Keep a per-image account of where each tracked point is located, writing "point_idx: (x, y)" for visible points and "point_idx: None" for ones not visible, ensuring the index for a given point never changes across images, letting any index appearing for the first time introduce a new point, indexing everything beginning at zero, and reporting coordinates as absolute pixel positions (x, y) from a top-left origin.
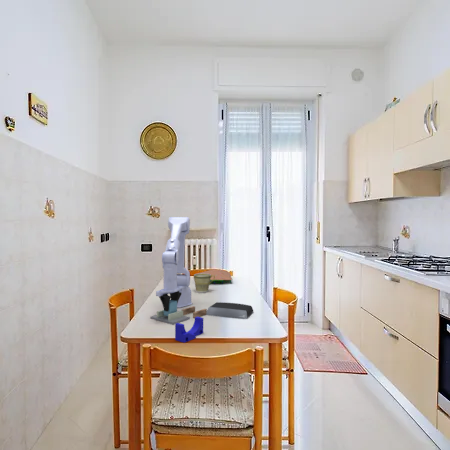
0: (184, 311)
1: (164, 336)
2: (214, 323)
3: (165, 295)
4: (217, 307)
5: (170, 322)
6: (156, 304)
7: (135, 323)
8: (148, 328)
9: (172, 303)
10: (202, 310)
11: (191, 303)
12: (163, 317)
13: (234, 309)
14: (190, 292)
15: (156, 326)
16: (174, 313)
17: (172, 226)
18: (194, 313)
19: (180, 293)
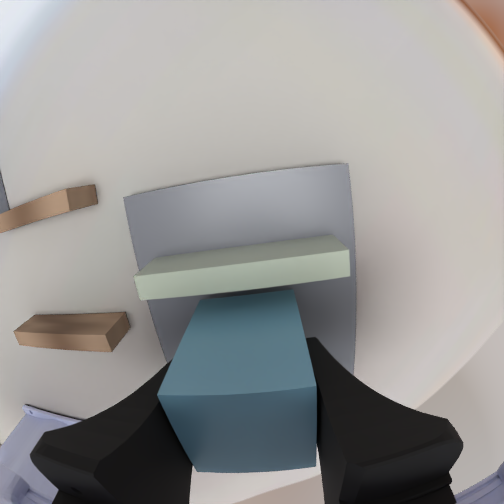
0: (98, 326)
1: (487, 49)
2: (89, 11)
3: (415, 497)
4: None
5: (349, 199)
6: None
7: (459, 360)
8: (489, 230)
9: (262, 376)
10: (4, 212)
11: (26, 409)
12: None
13: None
14: (4, 447)
15: (447, 227)
16: (273, 259)
17: None
18: (70, 191)
19: (46, 454)
